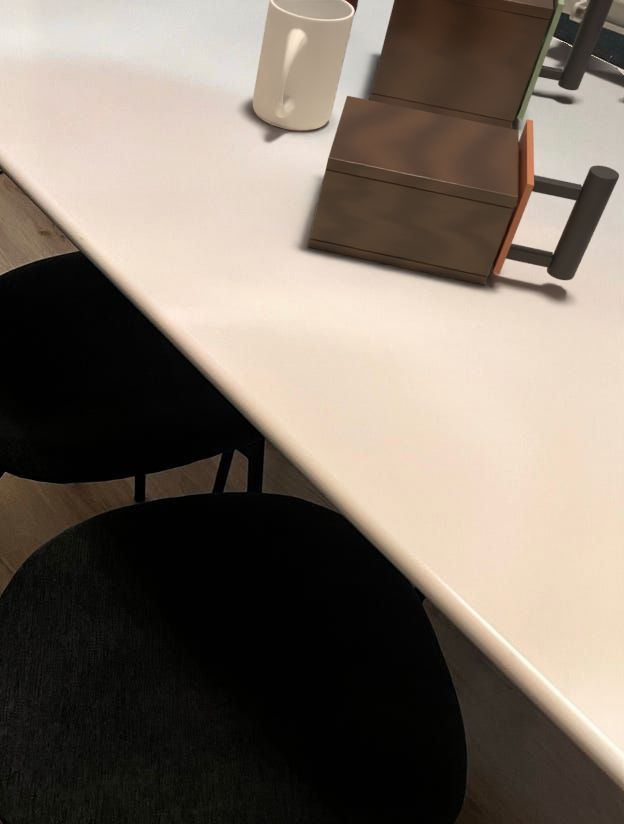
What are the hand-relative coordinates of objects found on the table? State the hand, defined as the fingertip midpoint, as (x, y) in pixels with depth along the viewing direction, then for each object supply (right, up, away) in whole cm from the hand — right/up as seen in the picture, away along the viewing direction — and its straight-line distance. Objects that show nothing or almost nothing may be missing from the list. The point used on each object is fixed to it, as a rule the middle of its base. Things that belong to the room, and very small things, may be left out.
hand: (612, 27), depth 118 cm
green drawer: (-15, -8, -1) cm, 17 cm away
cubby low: (-30, -33, -23) cm, 50 cm away
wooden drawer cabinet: (-20, -7, 0) cm, 21 cm away
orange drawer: (-26, -33, -24) cm, 48 cm away
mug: (-39, -16, -9) cm, 43 cm away
